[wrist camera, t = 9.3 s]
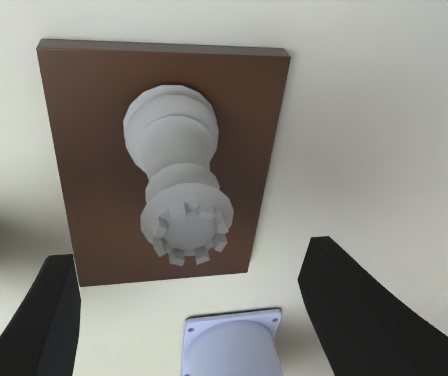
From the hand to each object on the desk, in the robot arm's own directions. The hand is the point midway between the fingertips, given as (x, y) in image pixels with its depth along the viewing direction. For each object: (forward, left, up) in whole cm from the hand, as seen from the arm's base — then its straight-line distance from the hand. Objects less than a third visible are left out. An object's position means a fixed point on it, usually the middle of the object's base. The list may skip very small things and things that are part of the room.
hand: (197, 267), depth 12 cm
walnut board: (-4, 0, -10) cm, 11 cm away
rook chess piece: (0, 0, -9) cm, 9 cm away
